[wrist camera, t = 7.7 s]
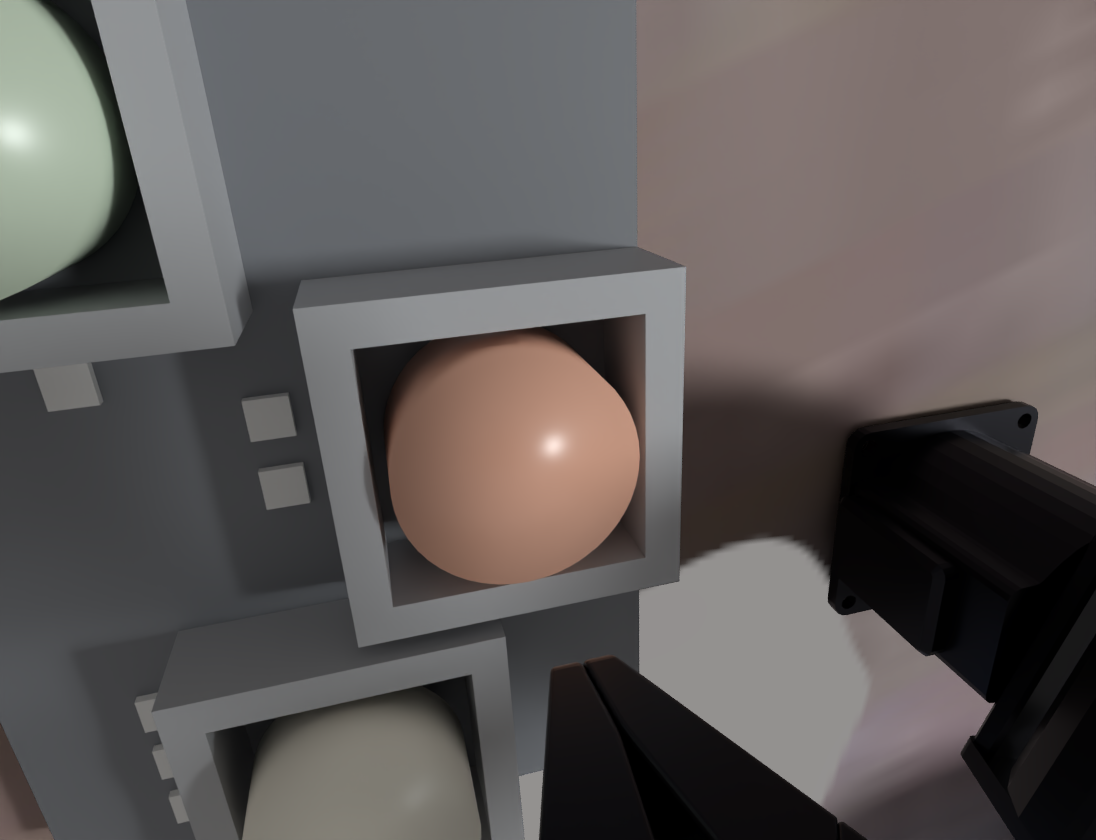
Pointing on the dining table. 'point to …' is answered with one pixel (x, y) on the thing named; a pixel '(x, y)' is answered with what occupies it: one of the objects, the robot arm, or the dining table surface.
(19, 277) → the sage button
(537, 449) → the terracotta button
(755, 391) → the dining table surface
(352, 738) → the cream button
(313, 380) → the button panel
